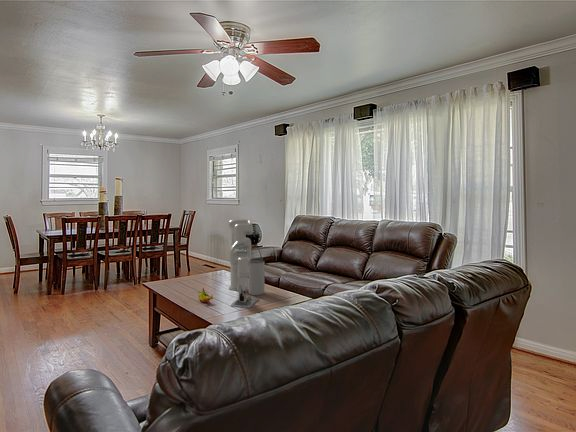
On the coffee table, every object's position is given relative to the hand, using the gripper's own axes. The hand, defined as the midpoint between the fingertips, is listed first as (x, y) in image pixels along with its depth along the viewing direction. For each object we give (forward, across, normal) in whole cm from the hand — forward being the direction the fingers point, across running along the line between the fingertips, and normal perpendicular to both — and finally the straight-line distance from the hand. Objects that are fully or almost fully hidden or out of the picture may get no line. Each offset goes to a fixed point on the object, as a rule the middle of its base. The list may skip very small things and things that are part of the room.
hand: (243, 299), depth 263 cm
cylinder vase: (+4, -30, +1) cm, 30 cm away
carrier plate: (+3, -4, 0) cm, 5 cm away
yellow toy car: (+4, 0, -30) cm, 30 cm away
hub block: (+1, 0, 0) cm, 1 cm away
